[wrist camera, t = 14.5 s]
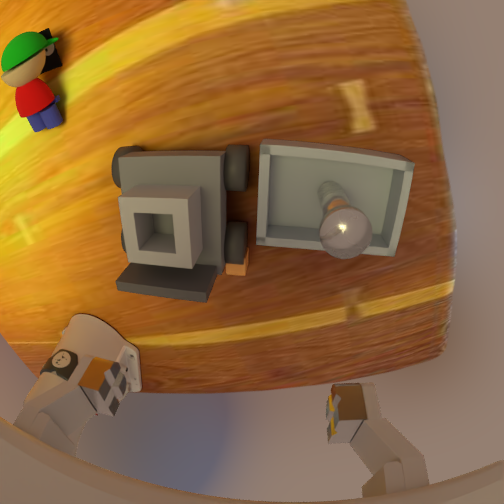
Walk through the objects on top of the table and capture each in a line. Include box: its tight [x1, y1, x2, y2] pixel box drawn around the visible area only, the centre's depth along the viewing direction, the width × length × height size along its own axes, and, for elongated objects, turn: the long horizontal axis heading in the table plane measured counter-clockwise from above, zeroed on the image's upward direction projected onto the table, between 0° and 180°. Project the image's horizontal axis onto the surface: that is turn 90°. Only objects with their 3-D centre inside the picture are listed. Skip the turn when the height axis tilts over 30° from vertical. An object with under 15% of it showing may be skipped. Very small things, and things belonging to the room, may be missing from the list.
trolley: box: [112, 145, 250, 303], centre depth 32 cm, size 16×15×12 cm
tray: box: [256, 139, 415, 257], centre depth 32 cm, size 11×16×4 cm
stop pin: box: [317, 181, 373, 259], centre depth 28 cm, size 4×4×11 cm
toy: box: [1, 28, 63, 132], centre depth 26 cm, size 8×8×15 cm
